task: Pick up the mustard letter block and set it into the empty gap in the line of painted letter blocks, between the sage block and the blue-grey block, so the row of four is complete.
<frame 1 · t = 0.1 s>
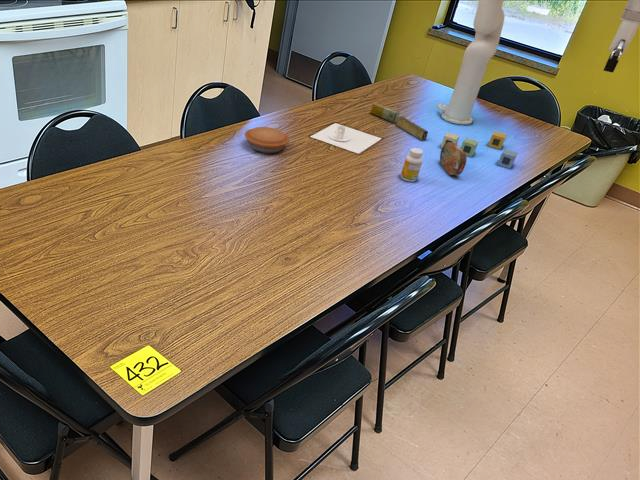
hand: (609, 68, 203), 31 cm above the table, tool pointing down, fingers open, 9 cm apart
pie: (265, 147, 197), on the table
teacup and saucer: (346, 138, 211), on the table
cream block: (448, 147, 213), on the table
blue-grey block: (505, 164, 205), on the table
medication box: (383, 118, 231), on the table
supplement bottle: (408, 178, 188), on the table
mustard block: (495, 146, 219), on the table
decorative block: (410, 133, 221), on the table
sage block: (466, 153, 210), on the table
tin: (448, 170, 197), on the table
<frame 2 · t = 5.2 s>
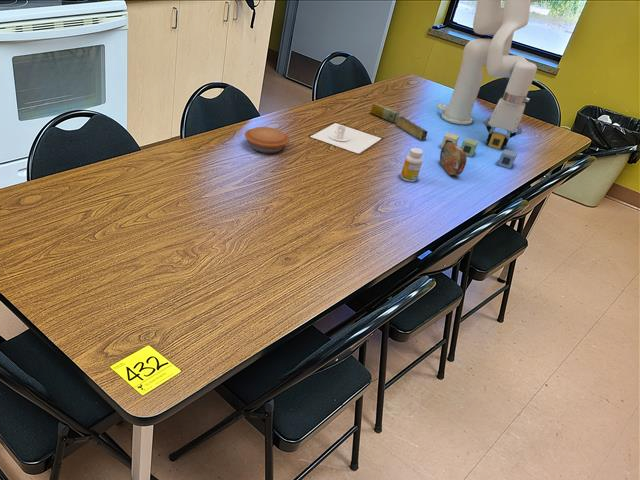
hand: (495, 145, 218), 0 cm above the table, tool pointing down, fingers closed on mustard block, 4 cm apart
mustard block: (495, 146, 219), on the table, touching gripper
everything else where it was.
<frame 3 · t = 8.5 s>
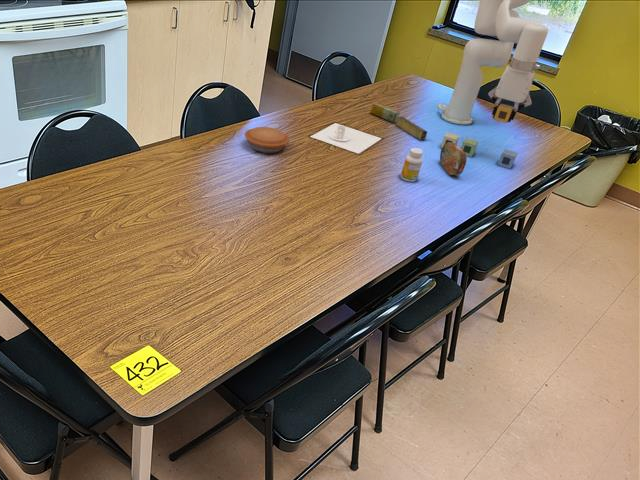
hand: (501, 118, 199), 15 cm above the table, tool pointing down, fingers closed on mustard block, 4 cm apart
mustard block: (501, 119, 199), point 14 cm above the table, touching gripper
everything else where it was.
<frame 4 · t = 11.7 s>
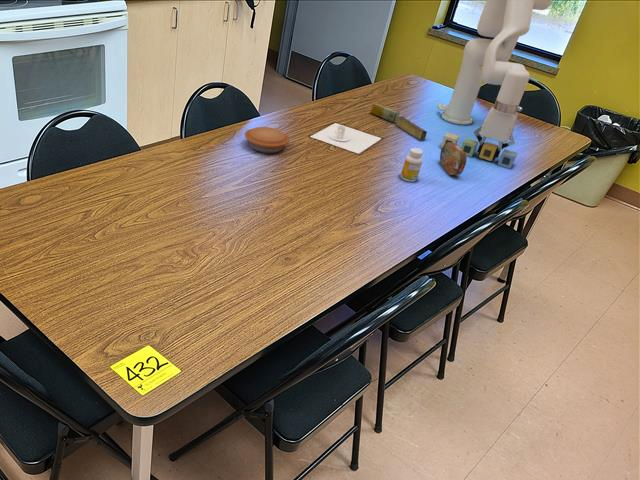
hand: (486, 156, 207), 1 cm above the table, tool pointing down, fingers closed on mustard block, 4 cm apart
blue-grey block: (505, 164, 205), on the table, touching gripper
mustard block: (486, 157, 207), point 1 cm above the table, touching gripper
everything else where it was.
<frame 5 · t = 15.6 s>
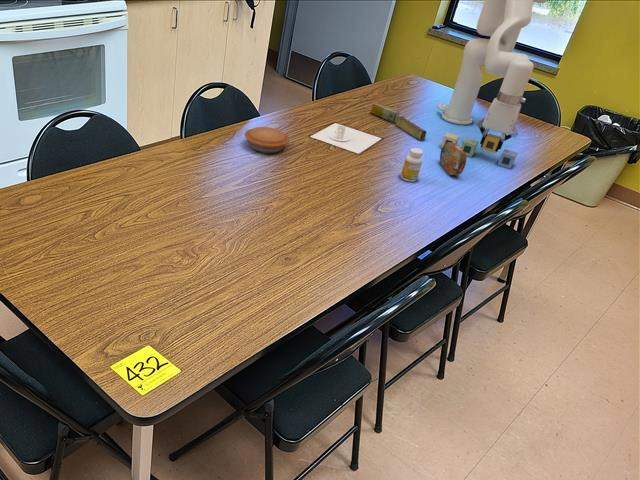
hand: (489, 148, 205), 4 cm above the table, tool pointing down, fingers closed on mustard block, 4 cm apart
blue-grey block: (505, 164, 205), on the table
mustard block: (489, 149, 205), point 4 cm above the table, touching gripper
everything else where it was.
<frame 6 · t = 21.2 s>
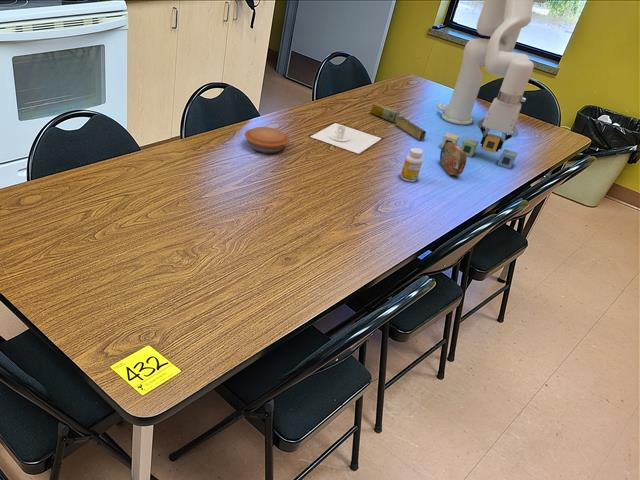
hand: (489, 148, 205), 4 cm above the table, tool pointing down, fingers closed on mustard block, 4 cm apart
mustard block: (489, 149, 205), point 4 cm above the table, touching gripper
everything else where it was.
when the fingers open (4 cm above the table, at t = 26.2 s): mustard block drops 4 cm, on the table.
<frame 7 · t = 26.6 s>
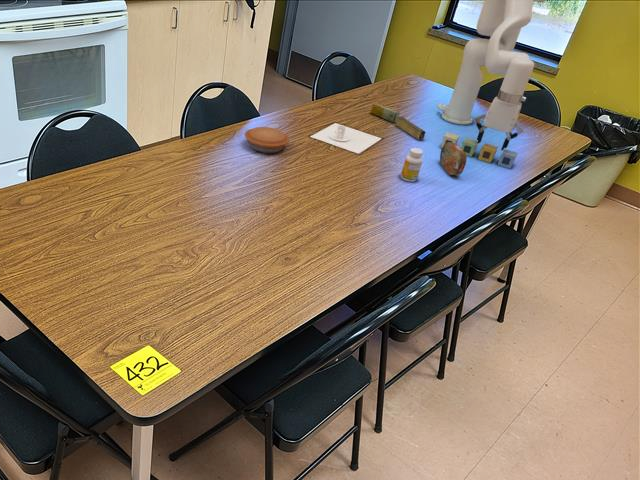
hand: (490, 145, 204), 5 cm above the table, tool pointing down, fingers open, 8 cm apart
mustard block: (485, 158, 207), on the table
everything else where it was.
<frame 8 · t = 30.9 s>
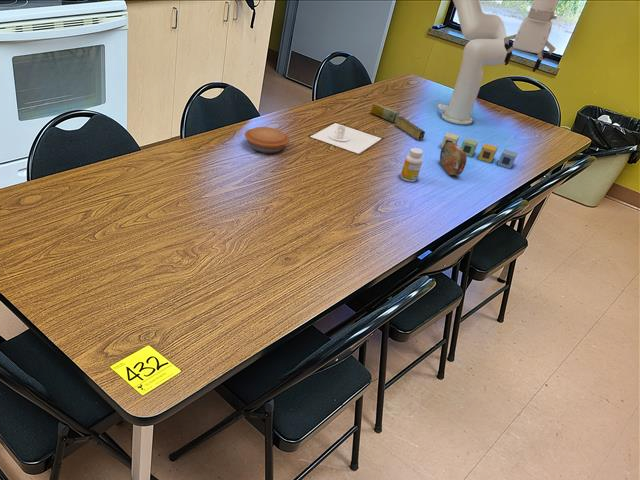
hand: (520, 67, 203), 28 cm above the table, tool pointing down, fingers open, 9 cm apart
nothing on the table moved.
at the end: mustard block 0.0 cm from the target spot, on the table; mustard block tilted 0°; blue-grey block moved 0.0 cm from its start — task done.
